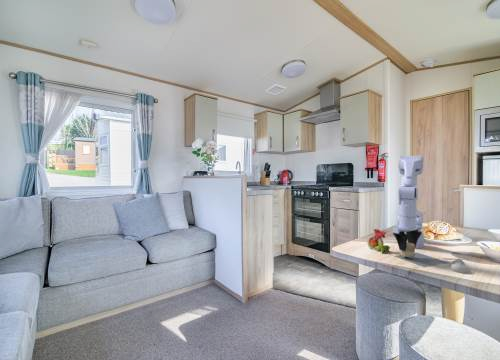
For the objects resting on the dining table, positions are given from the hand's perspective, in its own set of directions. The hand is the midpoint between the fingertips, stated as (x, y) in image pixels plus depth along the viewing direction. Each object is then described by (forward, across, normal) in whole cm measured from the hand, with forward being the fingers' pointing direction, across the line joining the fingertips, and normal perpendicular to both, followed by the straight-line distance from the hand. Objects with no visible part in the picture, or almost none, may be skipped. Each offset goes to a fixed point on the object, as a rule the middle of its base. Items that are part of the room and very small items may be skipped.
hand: (407, 249), depth 98 cm
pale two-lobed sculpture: (+5, -5, +16) cm, 17 cm away
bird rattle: (+5, +2, -12) cm, 13 cm away
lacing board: (+4, -3, +3) cm, 6 cm away
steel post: (+3, 0, 0) cm, 3 cm away
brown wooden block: (+2, 0, 0) cm, 2 cm away
